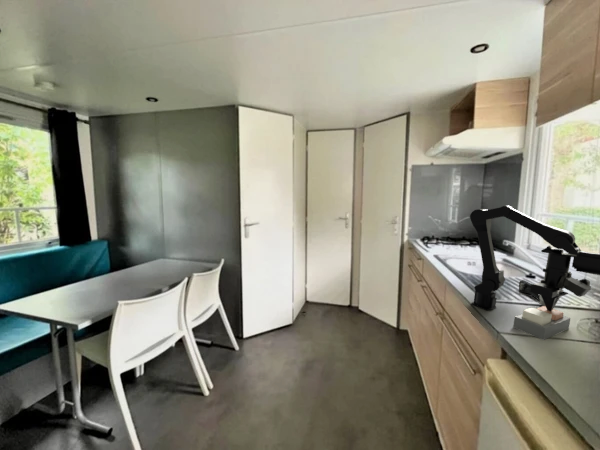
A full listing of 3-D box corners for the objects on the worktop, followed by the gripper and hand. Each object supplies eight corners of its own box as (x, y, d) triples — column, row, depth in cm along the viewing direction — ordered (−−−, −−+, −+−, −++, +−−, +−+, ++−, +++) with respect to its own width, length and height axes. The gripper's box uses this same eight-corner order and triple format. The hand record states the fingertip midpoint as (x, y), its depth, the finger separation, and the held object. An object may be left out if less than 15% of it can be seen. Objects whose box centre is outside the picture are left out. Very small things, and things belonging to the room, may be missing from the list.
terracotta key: (534, 320, 99) (536, 308, 99) (542, 317, 102) (543, 305, 101) (553, 327, 94) (555, 315, 94) (561, 324, 97) (563, 312, 96)
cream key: (521, 322, 95) (523, 310, 95) (530, 319, 98) (532, 307, 97) (541, 330, 90) (543, 317, 90) (549, 326, 93) (552, 314, 92)
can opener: (513, 289, 134) (515, 278, 133) (529, 290, 133) (530, 279, 132) (540, 305, 116) (542, 292, 116) (558, 306, 116) (560, 293, 115)
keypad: (513, 327, 96) (514, 316, 96) (538, 317, 104) (540, 307, 104) (543, 340, 89) (545, 328, 88) (568, 329, 97) (570, 318, 96)
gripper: (576, 278, 84) (566, 326, 86) (601, 271, 92) (592, 315, 95) (532, 267, 94) (525, 311, 96) (558, 262, 102) (551, 302, 104)
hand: (549, 310), depth 98 cm, fingers closed, pressing on terracotta key
